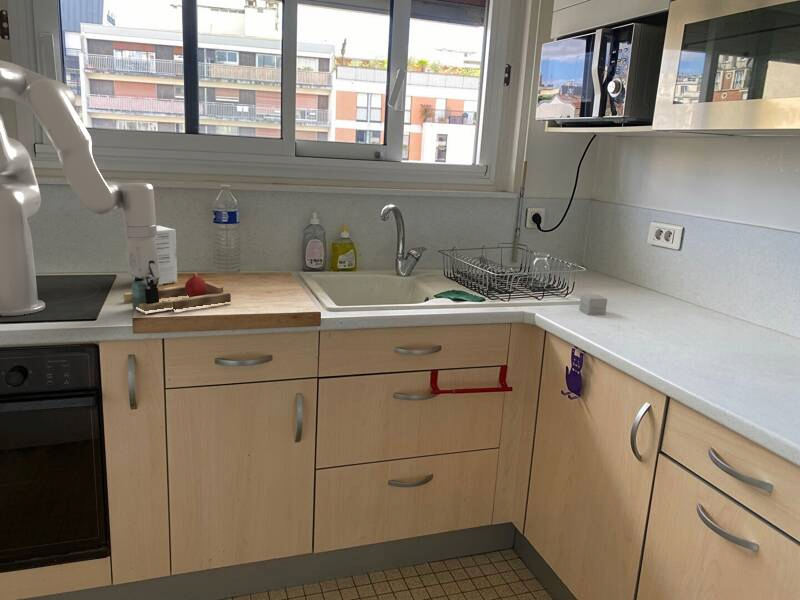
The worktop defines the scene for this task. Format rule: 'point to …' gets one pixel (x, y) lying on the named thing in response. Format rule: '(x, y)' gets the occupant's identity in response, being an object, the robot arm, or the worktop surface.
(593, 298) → the small box
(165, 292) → the lane rails
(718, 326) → the worktop surface
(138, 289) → the tan frame
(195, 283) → the onion
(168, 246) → the supplement box
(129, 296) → the broken strip
